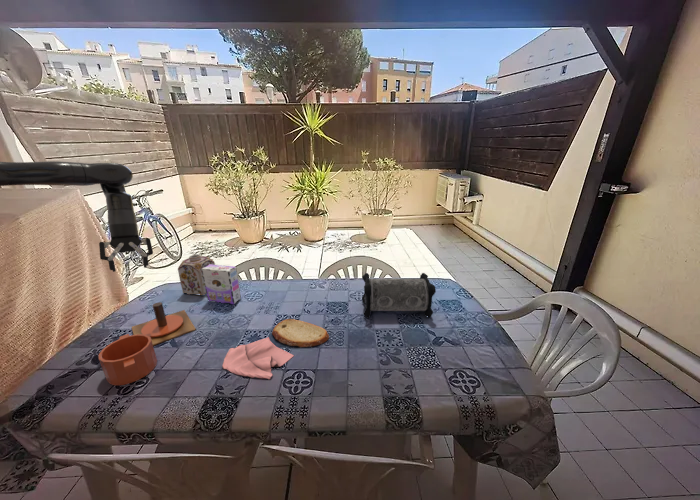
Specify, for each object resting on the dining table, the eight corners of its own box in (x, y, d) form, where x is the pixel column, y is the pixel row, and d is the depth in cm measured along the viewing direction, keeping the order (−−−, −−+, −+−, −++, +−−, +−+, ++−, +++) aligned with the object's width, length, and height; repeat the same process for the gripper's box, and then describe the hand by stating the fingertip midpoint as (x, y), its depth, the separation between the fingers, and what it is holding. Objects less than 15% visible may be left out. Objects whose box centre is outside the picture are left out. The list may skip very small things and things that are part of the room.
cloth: (222, 349, 93) (221, 343, 92) (285, 333, 102) (285, 327, 101) (222, 394, 76) (221, 387, 75) (299, 370, 84) (299, 364, 83)
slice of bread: (332, 340, 98) (332, 331, 97) (283, 358, 89) (283, 348, 88) (312, 316, 112) (312, 308, 111) (269, 329, 104) (268, 321, 103)
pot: (108, 398, 74) (99, 374, 71) (106, 363, 87) (97, 341, 84) (162, 375, 82) (155, 352, 79) (152, 346, 94) (146, 325, 92)
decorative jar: (204, 296, 128) (197, 261, 122) (182, 294, 129) (174, 259, 123) (219, 285, 139) (214, 252, 133) (199, 283, 140) (192, 250, 134)
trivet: (137, 351, 92) (137, 350, 92) (131, 327, 104) (131, 326, 104) (196, 330, 103) (195, 328, 103) (184, 310, 116) (184, 309, 116)
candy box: (241, 298, 126) (237, 266, 120) (233, 305, 120) (228, 271, 115) (216, 295, 129) (210, 263, 123) (207, 301, 123) (200, 268, 118)
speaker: (361, 301, 124) (362, 271, 119) (423, 301, 124) (426, 271, 119) (363, 320, 110) (364, 287, 105) (433, 319, 110) (437, 286, 105)
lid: (144, 343, 95) (137, 318, 91) (139, 326, 104) (132, 303, 101) (187, 328, 103) (182, 305, 100) (179, 313, 113) (174, 292, 109)
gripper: (147, 223, 101) (154, 265, 103) (96, 225, 92) (103, 272, 94) (149, 221, 96) (155, 266, 97) (94, 223, 87) (102, 273, 88)
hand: (130, 269), depth 95 cm, fingers open, 8 cm apart
